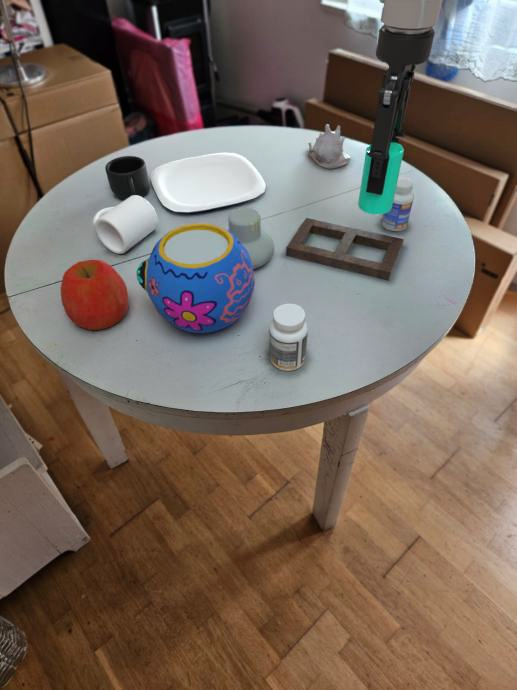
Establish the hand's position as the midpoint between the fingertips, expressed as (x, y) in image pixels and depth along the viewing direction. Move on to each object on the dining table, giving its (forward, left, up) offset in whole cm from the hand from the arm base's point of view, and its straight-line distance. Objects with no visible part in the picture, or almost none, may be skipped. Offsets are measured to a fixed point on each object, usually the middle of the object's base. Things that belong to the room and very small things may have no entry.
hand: (379, 183), depth 81 cm
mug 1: (+56, -2, -16) cm, 59 cm away
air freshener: (+21, +10, -16) cm, 28 cm away
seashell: (+20, -36, -16) cm, 44 cm away
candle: (0, 0, -5) cm, 5 cm away
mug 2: (+48, +13, -16) cm, 53 cm away
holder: (+4, 0, -16) cm, 16 cm away
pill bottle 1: (+4, +31, -16) cm, 35 cm away
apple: (+38, +34, -16) cm, 54 cm away
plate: (+42, -13, -16) cm, 47 cm away
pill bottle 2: (-3, -13, -16) cm, 21 cm away
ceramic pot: (+21, +27, -16) cm, 38 cm away
